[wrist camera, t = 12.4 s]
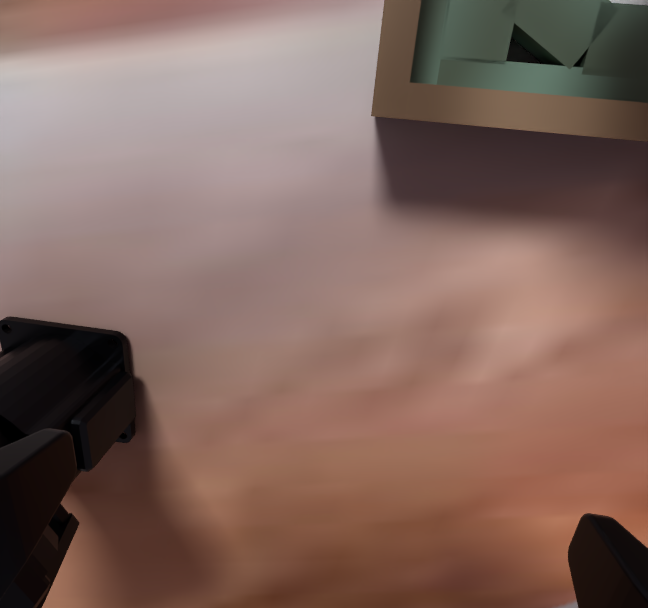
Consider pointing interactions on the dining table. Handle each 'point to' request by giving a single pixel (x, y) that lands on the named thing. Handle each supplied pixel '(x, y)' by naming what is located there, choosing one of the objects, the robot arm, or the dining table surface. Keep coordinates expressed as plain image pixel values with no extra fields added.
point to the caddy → (516, 65)
